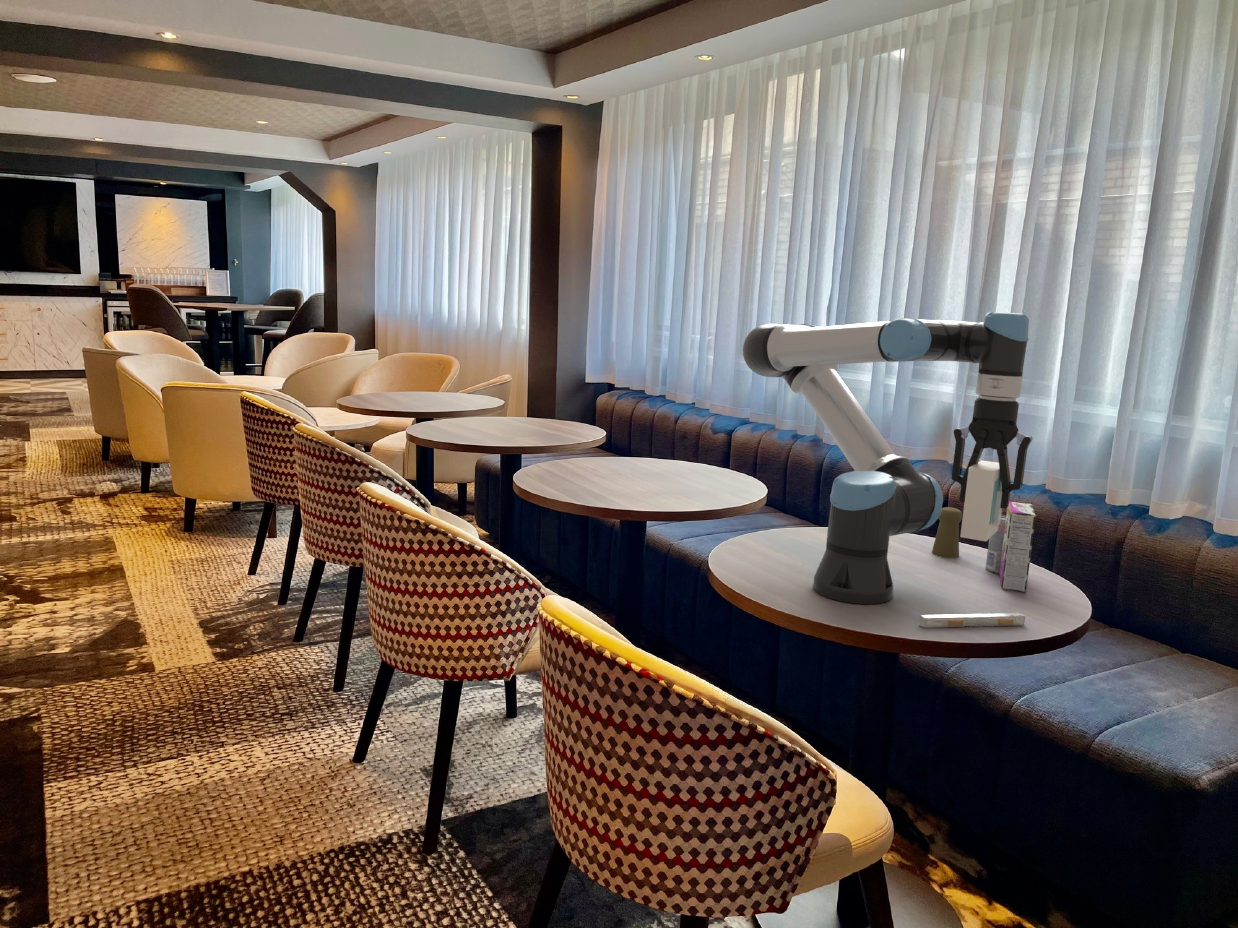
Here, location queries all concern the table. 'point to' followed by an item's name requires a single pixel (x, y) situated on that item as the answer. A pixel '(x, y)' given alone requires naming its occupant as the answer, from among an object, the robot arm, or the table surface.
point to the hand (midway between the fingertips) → (981, 521)
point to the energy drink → (996, 548)
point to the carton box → (981, 501)
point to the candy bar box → (1017, 546)
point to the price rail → (972, 620)
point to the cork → (948, 533)
